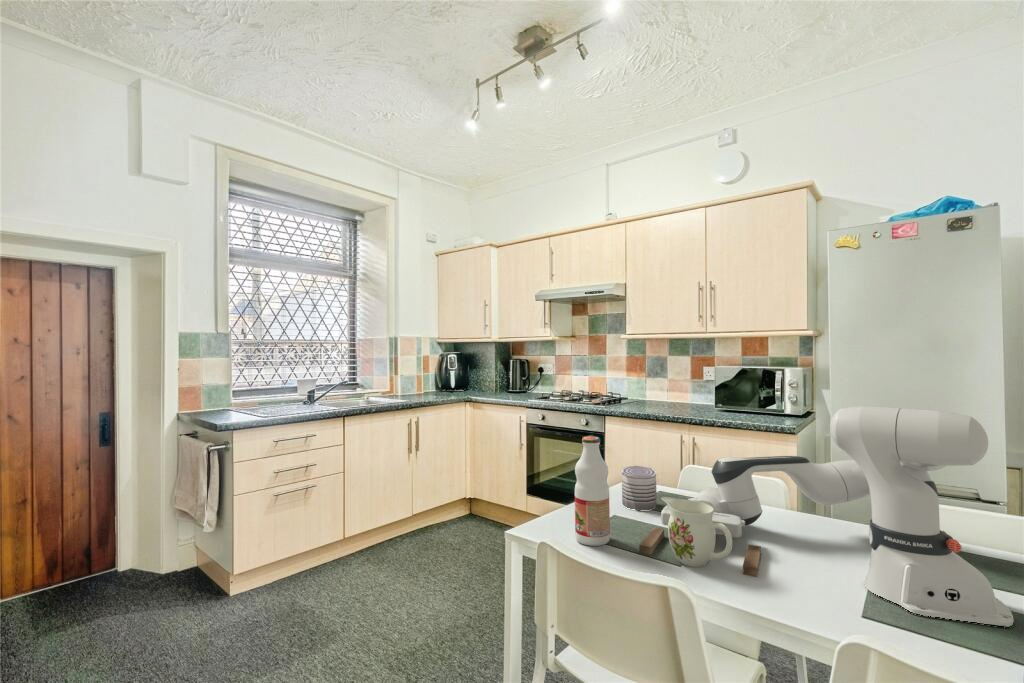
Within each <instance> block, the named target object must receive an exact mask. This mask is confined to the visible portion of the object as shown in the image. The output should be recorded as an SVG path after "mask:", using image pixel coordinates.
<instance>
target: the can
mask: <svg viewBox="0 0 1024 683" xmlns="http://www.w3.org/2000/svg"><path fill="white" fill-rule="evenodd" d="M620 472H621V489H622V490H621V492H622V494H621V498H622V502H621V503H622V504H623V505H624V506H625V507H627V508H630V509H635V510H650V509H654V508H655V507H656V505H657V503H658V502H657V473H658V471H657V470H654V469H653V468H651V467H648V466H641V465H632V466H625V467H623V468H622V469H621V470H620ZM622 504H621V505H622ZM624 506H623V507H624ZM657 506H658V505H657ZM625 507H624V508H625ZM627 508H626V509H627ZM656 508H657V507H656ZM630 509H629V510H630Z"/></svg>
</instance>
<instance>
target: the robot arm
mask: <svg viewBox="0 0 1024 683" xmlns="http://www.w3.org/2000/svg"><path fill="white" fill-rule="evenodd" d="M829 431H830V437H831V438H832V440H833V442H834V443H835V445H837V447H838V448H840V450H842V451H844V452H845V453H846V454H848V456H850V457H851V459H843V460H842V459H841V460H835V461H828V462H824V463H815V462H811V461H810V460H809V459H808V458H807V457H804V456H797V455H777V456H757V457H735V456H733V457H732V456H726V457H722V458H719V459H717V460H716V461H715V463H714V464H713V466H712V469H711V474H712V477H713V479H714V482H715V484H716V486H717V487H712V486H710V487H707V488H704V489H702V490H701V491H699V492H698V493H697V494H696V496H695V497H691V498H685V499H686V500H692V501H697V502H701V503H705V504H707V505H710V506H711V507H713V509H714V511H713V516H712V521H713V523H722V524H724V525H725V526H726V527H727V528H728V529H729V531H730V533H731V536H732V538H738V539H739V538H741V537H742V535H743V532H742V531H743V529H742V528H744V527H745V526H749V525H752V524H754V523H755V522H756V521H757V520H758V519H760V517H761V516H762V513H763V509H762V505H761V501H760V498H759V496H758V493H757V489H756V488H755V487H756V486H755V484H754V481H753V473H769V472H783V473H785V474H786V475H787V476H788V477H790V478H789V479H790V480H792V481H793V483H794V484H795V485H796V487H797V488H798V489H799V490H800V491H801V493H802V494H803V495H804V496H806V497H807V498H809V500H811V501H812V502H814V503H816V504H819V505H822V506H833V505H834V506H835V505H841V504H846V503H849V502H853V501H858V500H860V499H863V498H866V497H868V496H869V497H870V505H871V506H870V507H871V519H870V520H869V526H868V535H869V536H868V537H869V538H868V539H869V545H870V547H871V549H870V550H871V551H870V552H871V553H870V560H869V566H868V571H867V574H866V577H865V581H864V585H865V588H866V589H867V590H868V591H869V592H871V593H872V594H873V593H874V594H873V595H875V594H876V595H875V596H877V595H878V596H877V597H879V596H881V597H883V598H885V599H887V600H890V601H892V602H894V603H897V604H899V605H901V606H902V607H904V608H905V609H907V610H909V611H910V612H913V613H917V614H920V615H919V616H921V615H923V616H922V617H928V616H929V618H935V617H940V618H939V619H942V618H945V619H944V620H949V619H952V620H951V621H956V620H960V621H959V622H963V621H968V622H967V623H970V622H977V623H984V624H995V625H1006V626H1010V625H1012V624H1013V622H1014V623H1015V620H1014V616H1013V613H1012V611H1011V610H1010V609H1009V608H1008V606H1007V605H1006V604H1005V603H1003V602H1002V601H1001V600H1000V599H998V598H997V597H996V595H995V591H994V589H993V586H992V585H991V583H990V581H989V579H988V578H987V577H986V576H985V574H983V573H982V572H981V571H980V570H979V569H977V568H976V567H975V566H973V565H972V564H971V563H969V562H968V561H967V560H965V559H964V558H963V557H961V556H960V555H959V554H957V553H959V552H960V551H962V549H963V546H962V545H961V544H960V542H959V541H957V540H956V539H954V538H953V537H952V536H951V535H950V534H948V533H947V532H946V531H944V530H941V526H940V525H941V524H940V521H941V520H940V502H939V501H940V500H939V499H940V498H939V492H938V489H937V485H936V483H935V481H933V479H932V478H931V477H930V474H929V473H928V472H933V471H939V470H941V469H944V468H946V467H947V466H948V467H949V466H951V467H952V466H953V467H955V466H958V467H959V466H975V464H977V463H979V462H980V461H981V460H982V459H984V457H985V456H986V453H987V451H988V450H989V449H988V448H989V438H988V434H987V432H986V429H985V428H984V427H983V425H982V424H981V423H980V422H979V421H978V420H976V419H975V418H974V417H972V416H968V415H965V414H959V413H956V412H955V413H954V412H949V411H946V410H945V411H944V410H936V409H924V408H923V409H918V408H907V407H906V408H905V407H891V406H889V407H888V406H876V405H875V406H874V405H858V406H848V407H841V408H839V409H838V410H837V411H836V412H835V413H834V414H833V416H832V418H831V419H830V424H829ZM660 513H661V514H660V521H661V524H662V525H664V526H667V527H668V523H669V519H670V515H671V513H670V509H669V507H668V505H667V504H666V505H665V506H664V507H663V509H662V510H661V512H660ZM715 532H716V535H719V536H725V534H724V532H723V531H722V530H721V529H719V528H715ZM885 599H884V600H885ZM887 600H886V601H887ZM892 602H891V603H892ZM894 603H893V604H894ZM902 607H901V608H902ZM905 609H904V610H905ZM907 610H906V611H907ZM910 612H909V613H910ZM913 613H912V614H913ZM930 616H931V617H930ZM977 623H976V624H977ZM984 624H983V625H984Z"/></svg>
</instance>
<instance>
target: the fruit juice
mask: <svg viewBox="0 0 1024 683" xmlns="http://www.w3.org/2000/svg"><path fill="white" fill-rule="evenodd" d="M581 442H582V446H583V447H582V448H583V449H582V452H581V455H580V457H579V459H578V460H577V462H576V463H575V467H574V473H575V478H576V483H575V485H574V522H575V523H574V525H575V528H574V529H575V530H574V532H575V533H574V534H575V540H576V541H577V542H578V543H579V544H581V545H584V546H589V547H590V546H592V547H597V546H598V547H599V546H604V545H607V544H608V543H609V542H610V539H611V530H610V528H611V526H610V525H611V524H610V522H611V521H610V518H611V517H610V513H611V512H610V488H609V484H608V476H609V467H608V464H607V462H606V461H605V460H604V459H603V457H602V453H601V450H600V444H601V438H600V437H598V436H593V435H592V436H582V439H581Z"/></svg>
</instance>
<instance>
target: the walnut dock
mask: <svg viewBox="0 0 1024 683" xmlns="http://www.w3.org/2000/svg"><path fill="white" fill-rule="evenodd" d="M663 537H664V538H665V529H664V528H661V527H660V528H659V527H652V529H651V530H650V531H649V532H648V533H647V534H646V536H645V537H644V538H643V540H642V541H641V542H639V546H638V547H639V551H638V552H639V554H643V555H649V556H652V555H653V553H654V552H655V550H656V549H657V548H656V547H658V546H659V545H660V543H662V541H663V539H664V538H663ZM662 538H663V539H662ZM661 540H662V541H661ZM658 544H659V545H658ZM745 551H746V552H745V555H744V558H743V563H742V574H743V575H745V576H750V577H754V578H759V577H758V576H759V571H760V565H761V559H762V546H760V545H754V544H750V543H747V547H746V550H745ZM651 554H652V555H651Z"/></svg>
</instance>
